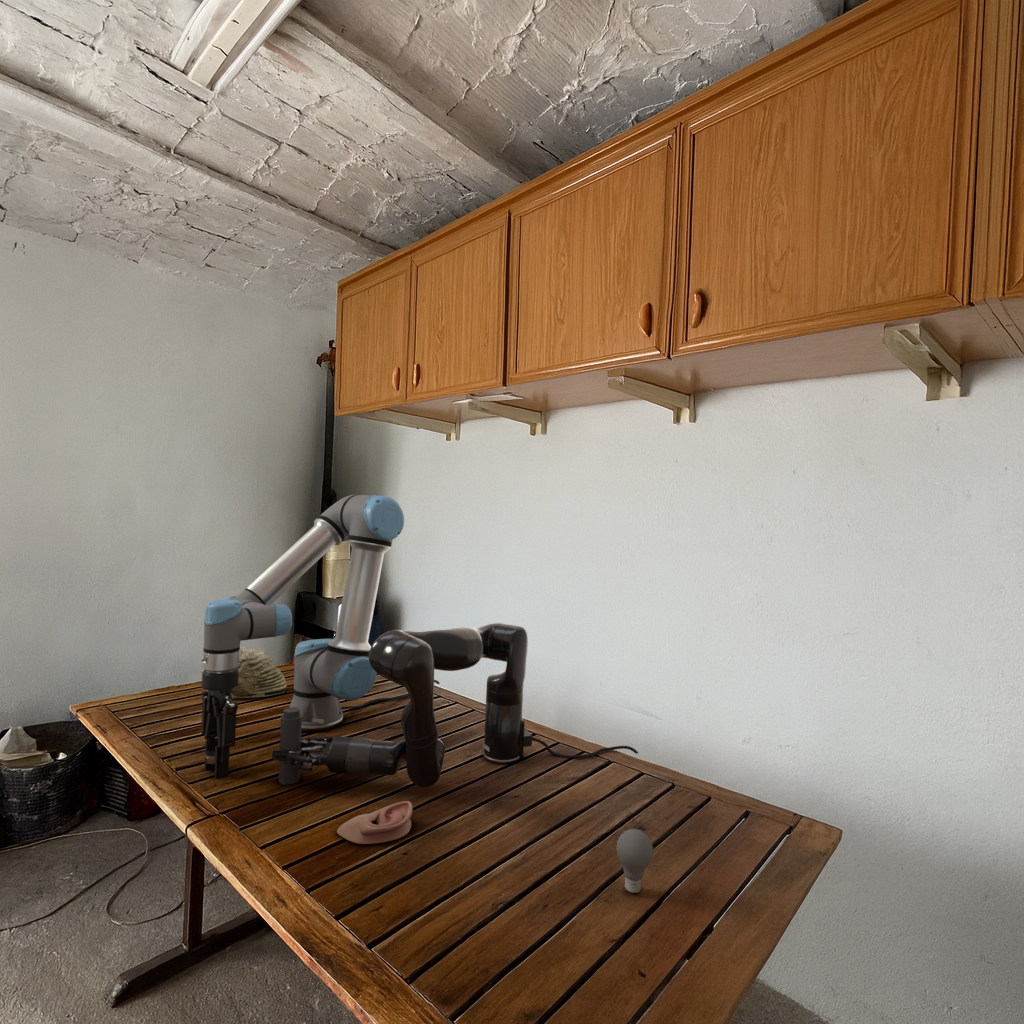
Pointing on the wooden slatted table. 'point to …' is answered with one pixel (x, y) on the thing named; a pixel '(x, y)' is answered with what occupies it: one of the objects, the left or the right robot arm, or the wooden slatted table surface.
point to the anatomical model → (379, 825)
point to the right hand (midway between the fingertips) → (278, 750)
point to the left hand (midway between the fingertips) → (216, 771)
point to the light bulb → (634, 857)
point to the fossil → (257, 675)
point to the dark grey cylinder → (290, 743)
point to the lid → (210, 756)
